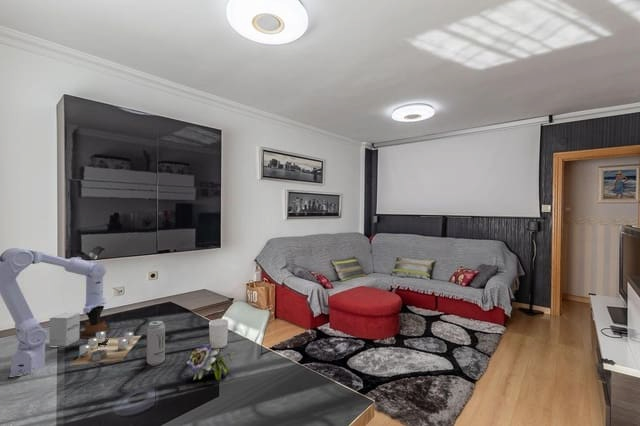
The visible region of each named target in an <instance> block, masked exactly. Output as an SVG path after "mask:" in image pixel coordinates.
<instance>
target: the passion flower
mask: <svg viewBox="0 0 640 426" xmlns="http://www.w3.org/2000/svg"><path fill="white" fill-rule="evenodd" d="M213 345H214V342H213V341H211V342H210V341H209V343H208V344H207V343H205V344H204V343H203V344H202V346H200V347H197V348H195V349H194V350H193V351H192V353H191V355H190V357H189V360H187V361H186V364H187V365H189V368H190V370H191V373H190V374H191V375H193V378H192V380H193V381H195V380H197V379H198V380H202V379H203V377H204V376H205V371H209V372H210V371H211V370H213V373H214V377H215V380H216V381H219V382H220V381H221V377H222V370H223V374H224V376H226V375H227V373H228V366H227V363H225V360H224V358H223V357H225V356H227V355H228V357H229V360H230V361H231V362H232V360H233V357H232V355H231V352H229V353H227V354H224V355H222V356H218V357H216V356H217V355H218V354H219V352H220V348H214V349H213V348H212V347H213ZM220 366H221V367H220Z"/></svg>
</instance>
